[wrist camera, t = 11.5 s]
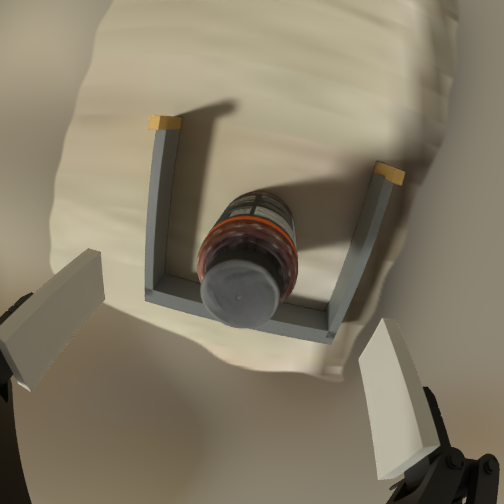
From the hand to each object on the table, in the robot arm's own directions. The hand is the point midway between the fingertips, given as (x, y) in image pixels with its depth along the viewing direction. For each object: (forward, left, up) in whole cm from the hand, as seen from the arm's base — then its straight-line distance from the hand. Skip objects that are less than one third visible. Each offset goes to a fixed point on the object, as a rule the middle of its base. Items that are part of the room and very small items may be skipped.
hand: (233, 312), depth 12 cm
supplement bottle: (0, 0, -13) cm, 13 cm away
